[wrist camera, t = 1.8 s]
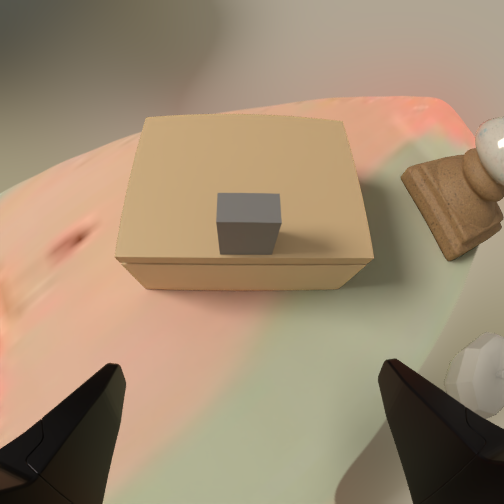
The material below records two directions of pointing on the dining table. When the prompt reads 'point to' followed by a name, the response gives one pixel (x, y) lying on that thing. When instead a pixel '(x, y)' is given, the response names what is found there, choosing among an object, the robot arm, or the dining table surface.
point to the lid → (243, 193)
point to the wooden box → (242, 276)
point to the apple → (478, 375)
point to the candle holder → (462, 192)
